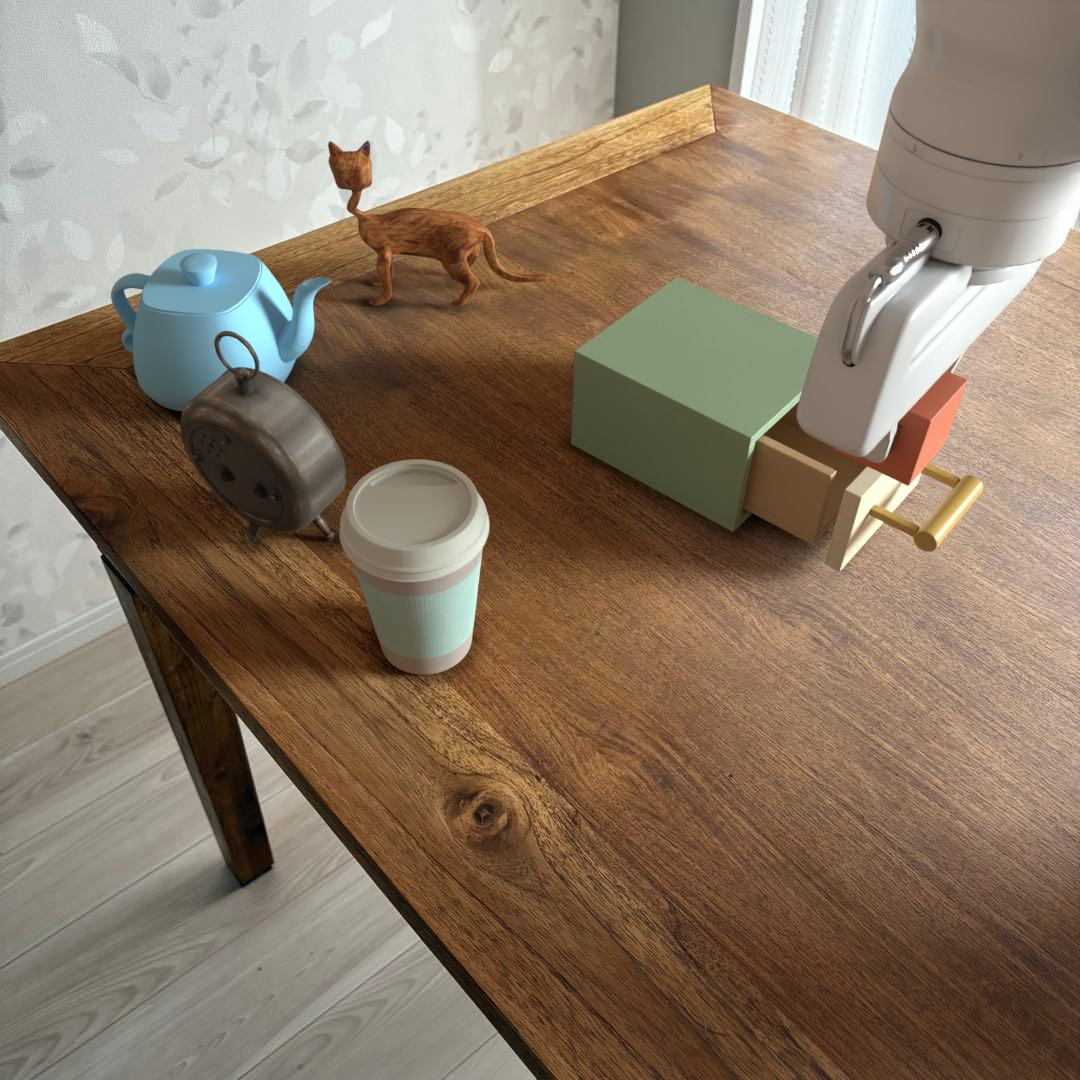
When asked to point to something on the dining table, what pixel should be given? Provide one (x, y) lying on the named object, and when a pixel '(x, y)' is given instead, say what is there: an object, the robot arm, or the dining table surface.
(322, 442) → the alarm clock
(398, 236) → the cat figurine
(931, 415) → the block
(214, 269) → the teapot
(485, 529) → the coffee cup
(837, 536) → the drawer
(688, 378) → the cabinet
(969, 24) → the robot arm
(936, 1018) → the dining table surface
